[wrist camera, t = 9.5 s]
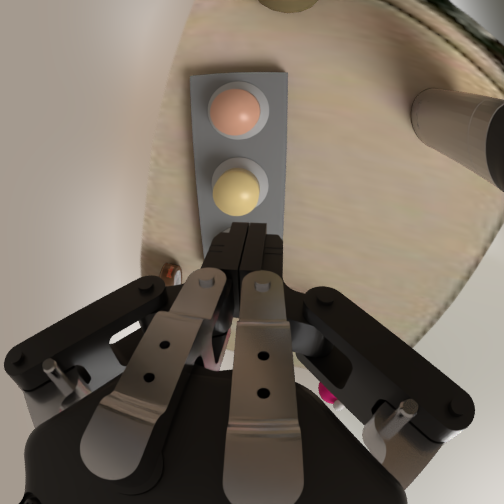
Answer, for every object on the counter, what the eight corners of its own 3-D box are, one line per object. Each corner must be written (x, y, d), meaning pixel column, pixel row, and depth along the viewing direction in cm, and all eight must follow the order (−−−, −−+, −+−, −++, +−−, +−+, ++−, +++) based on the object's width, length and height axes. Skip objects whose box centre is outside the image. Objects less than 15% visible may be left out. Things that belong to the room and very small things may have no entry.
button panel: (287, 73, 30) (287, 72, 28) (280, 267, 46) (280, 277, 44) (195, 76, 31) (189, 75, 29) (209, 263, 47) (205, 273, 45)
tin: (168, 253, 47) (150, 283, 40) (186, 257, 47) (170, 288, 40) (169, 312, 56) (156, 343, 48) (184, 316, 56) (172, 347, 49)
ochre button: (260, 168, 34) (258, 173, 32) (260, 208, 37) (258, 216, 35) (215, 167, 34) (211, 173, 32) (218, 207, 37) (214, 215, 35)
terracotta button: (260, 88, 29) (259, 88, 27) (260, 132, 32) (259, 135, 30) (214, 90, 29) (209, 90, 27) (215, 133, 32) (210, 136, 30)
